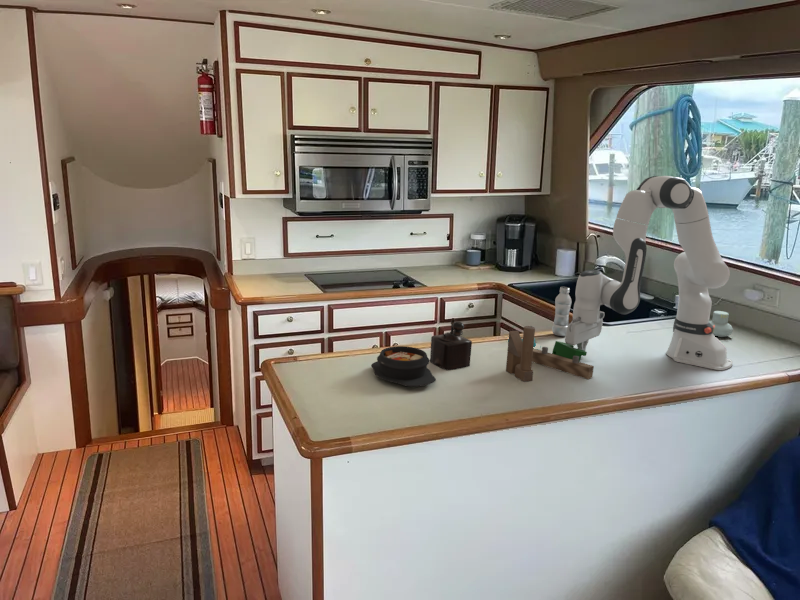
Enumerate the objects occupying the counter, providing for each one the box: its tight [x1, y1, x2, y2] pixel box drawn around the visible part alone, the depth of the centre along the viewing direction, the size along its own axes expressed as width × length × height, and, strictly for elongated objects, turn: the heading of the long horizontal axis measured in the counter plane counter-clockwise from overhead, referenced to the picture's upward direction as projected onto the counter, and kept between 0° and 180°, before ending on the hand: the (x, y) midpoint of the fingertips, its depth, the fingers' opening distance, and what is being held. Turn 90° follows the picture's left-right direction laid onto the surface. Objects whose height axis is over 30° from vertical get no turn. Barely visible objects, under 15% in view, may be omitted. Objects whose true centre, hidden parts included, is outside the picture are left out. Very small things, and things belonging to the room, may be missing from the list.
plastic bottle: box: [551, 286, 572, 337], centre depth 254 cm, size 6×7×20 cm
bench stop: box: [532, 346, 594, 380], centre depth 218 cm, size 24×3×6 cm, turn 46°
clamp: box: [551, 340, 588, 362], centre depth 227 cm, size 12×6×9 cm, turn 19°
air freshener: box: [709, 310, 734, 338], centre depth 265 cm, size 11×8×10 cm
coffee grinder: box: [429, 317, 473, 371], centre depth 214 cm, size 16×11×18 cm
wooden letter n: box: [505, 325, 536, 383], centre depth 208 cm, size 4×11×18 cm, turn 24°
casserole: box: [371, 345, 437, 388], centre depth 204 cm, size 25×19×8 cm
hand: (581, 351), depth 229 cm, fingers closed
